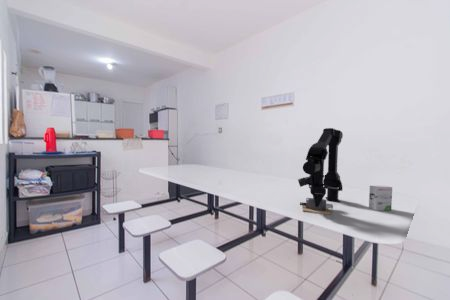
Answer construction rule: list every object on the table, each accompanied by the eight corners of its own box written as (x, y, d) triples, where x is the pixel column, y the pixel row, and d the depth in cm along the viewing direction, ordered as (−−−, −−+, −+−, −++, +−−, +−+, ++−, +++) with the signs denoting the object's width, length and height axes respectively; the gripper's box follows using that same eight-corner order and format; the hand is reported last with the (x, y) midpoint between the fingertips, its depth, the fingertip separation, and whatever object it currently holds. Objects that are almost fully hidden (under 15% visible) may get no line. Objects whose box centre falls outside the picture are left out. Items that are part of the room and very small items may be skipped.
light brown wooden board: (302, 205, 110) (302, 204, 110) (327, 208, 106) (327, 207, 106) (302, 211, 101) (302, 210, 101) (330, 214, 97) (330, 213, 97)
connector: (299, 205, 108) (300, 197, 108) (331, 209, 103) (332, 200, 103) (299, 208, 104) (300, 198, 104) (333, 211, 99) (333, 202, 99)
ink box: (383, 207, 110) (384, 184, 110) (392, 210, 105) (393, 186, 105) (368, 207, 109) (369, 184, 109) (375, 210, 104) (376, 186, 104)
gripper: (299, 169, 114) (298, 197, 115) (299, 173, 97) (298, 207, 97) (321, 170, 111) (320, 200, 111) (326, 175, 93) (325, 210, 94)
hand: (315, 204), depth 104 cm, fingers open, 9 cm apart
